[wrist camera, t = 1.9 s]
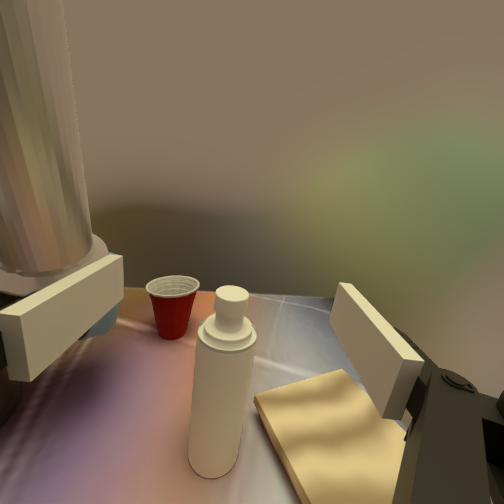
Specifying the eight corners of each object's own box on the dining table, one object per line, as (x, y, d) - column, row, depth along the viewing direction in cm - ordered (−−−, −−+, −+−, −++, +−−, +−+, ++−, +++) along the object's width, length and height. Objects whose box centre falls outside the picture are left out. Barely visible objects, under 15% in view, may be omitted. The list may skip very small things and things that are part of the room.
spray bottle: (226, 489, 29) (255, 300, 21) (177, 465, 30) (188, 282, 23) (244, 435, 35) (272, 275, 28) (202, 418, 36) (218, 262, 29)
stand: (251, 414, 38) (254, 394, 37) (336, 385, 46) (341, 368, 45) (330, 584, 23) (340, 559, 22) (438, 498, 31) (450, 476, 29)
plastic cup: (168, 313, 61) (170, 269, 58) (205, 327, 58) (209, 281, 54) (133, 335, 52) (133, 284, 48) (174, 354, 48) (177, 300, 44)
